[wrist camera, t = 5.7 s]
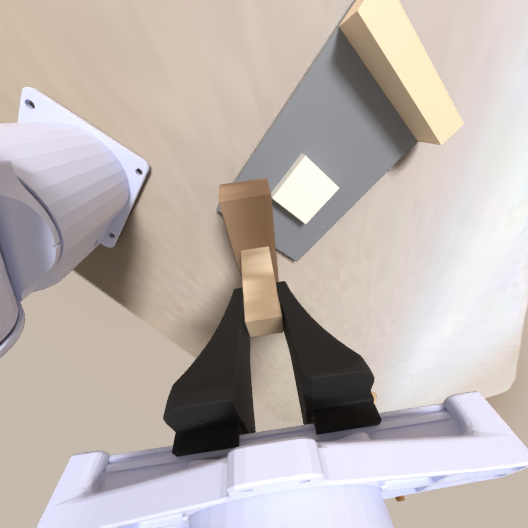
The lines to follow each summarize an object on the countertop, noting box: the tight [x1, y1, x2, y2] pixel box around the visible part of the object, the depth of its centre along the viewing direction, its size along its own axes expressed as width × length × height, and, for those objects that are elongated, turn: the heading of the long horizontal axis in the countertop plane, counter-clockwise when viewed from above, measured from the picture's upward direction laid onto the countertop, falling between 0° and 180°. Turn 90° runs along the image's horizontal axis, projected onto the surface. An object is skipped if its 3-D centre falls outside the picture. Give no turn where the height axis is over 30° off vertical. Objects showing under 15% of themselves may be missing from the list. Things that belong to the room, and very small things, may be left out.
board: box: [217, 0, 464, 261], centre depth 17 cm, size 16×10×4 cm, turn 142°
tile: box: [271, 153, 339, 224], centre depth 18 cm, size 4×4×1 cm
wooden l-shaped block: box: [219, 178, 283, 337], centre depth 14 cm, size 3×10×8 cm, turn 7°
